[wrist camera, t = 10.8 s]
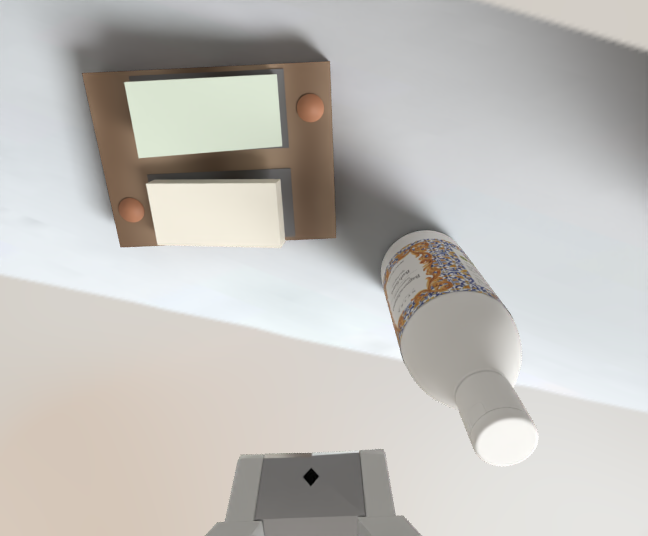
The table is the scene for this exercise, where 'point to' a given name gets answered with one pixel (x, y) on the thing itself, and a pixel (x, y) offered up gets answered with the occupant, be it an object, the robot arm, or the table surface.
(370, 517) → the robot arm
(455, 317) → the bath foam
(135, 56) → the table surface
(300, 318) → the table surface
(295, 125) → the switch plate
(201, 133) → the block
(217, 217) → the block
